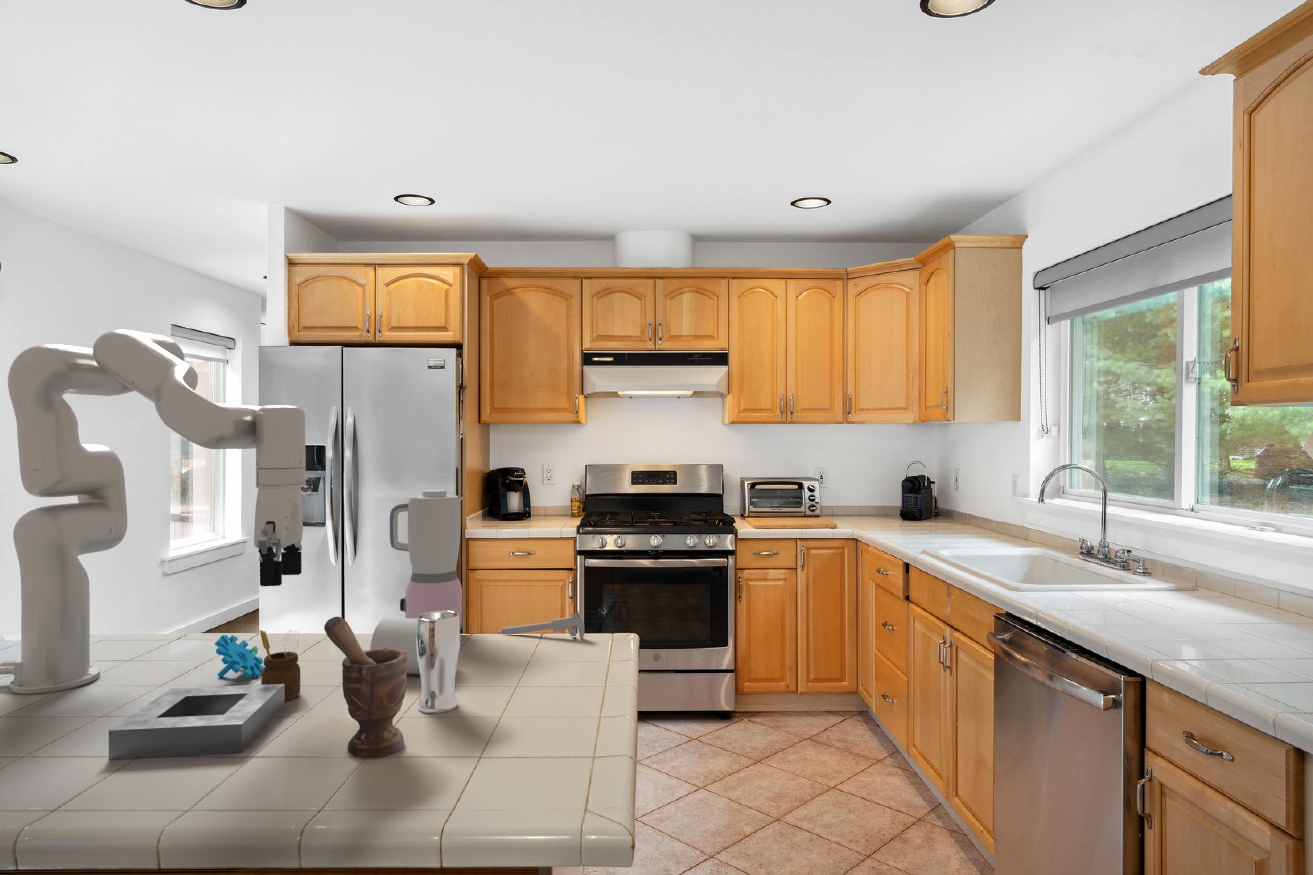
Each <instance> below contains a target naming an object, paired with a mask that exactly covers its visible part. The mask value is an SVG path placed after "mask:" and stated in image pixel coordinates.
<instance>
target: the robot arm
mask: <svg viewBox="0 0 1313 875" xmlns="http://www.w3.org/2000/svg"><path fill="white" fill-rule="evenodd" d="M185 360H186V358H185V355H184V352H183V350H182V348H181V347H180V345H179V344H178V343H177V342H176V341H174V340H173V339H171V338H170V337H167V336H165V335H159V334H154V333H148V332H143V331H142V332H141V331H137V330H130V329H115V330H111V331H108V332H105V333H103V334H101V335H100V336H99V337H98V338H96V340H95V342H94V343H93V346H92V348H88V347H82V346H75V345H67V344H50V343H49V344H39V345H33V346H30V347H29V348H27V349H24V350H23V351H22V352H20V353H19V354H18V355H17V356H16V357H15V359H14V360H13V361H12V363H11V366H10V368H9V371H8V376H7V389H8V390H7V391H8V394H9V399H10V402H11V405H12V408H13V411H14V416H15V421H16V429H17V430H16V434H17V435H16V436H17V448H18V458H19V460H18V461H19V471H20V472H19V473H20V479H21V484H22V486H23V488H24V490H25V491H26V492H27V494H30V495H31V496H33V497H37V498H63V497H64V498H65V497H74V496H77V502H78V503H77V502H75V503H71V502H70V503H63V504H53V505H52V504H51V505H45V506H40V507H37V508H35V509H31V510H29V511H26V513H24V514H23V515H21V516H20V518H18V519H17V521H16V523H15V525H14V528H13V533H12V534H13V535H12V537H13V538H12V539H13V543H14V548H15V552H16V556H17V560H18V566H19V576H20V599H21V602H20V604H21V605H20V606H21V607H20V608H21V611H20V612H21V616H20V618H21V621H20V623H21V624H20V625H21V626H20V630H21V631H20V632H21V633H20V635H21V636H20V641H21V642H20V654H21V655H20V657H21V658H20V659H19V660H3V661H1V663H0V675H13V679H12V680H11V681H10V682H9V686H8V688H9V691H10V692H11V693H14V694H23V695H25V694H26V695H27V694H28V695H33V694H44V693H45V694H47V693H51V692H57V691H58V692H59V691H64V690H69V689H72V688H76V687H80V686H83V685H87V684H88V683H92V682H93V681H96V680H97V679H98V678H99V677H100V676H101V669H100V668H99V667H97V666H94V665H90V659H91V658H90V657H91V656H90V654H91V652H90V651H91V650H90V649H91V648H90V646H91V645H90V643H91V642H90V637H91V636H90V635H91V634H90V630H91V629H90V622H91V621H90V620H91V618H90V617H91V616H90V612H91V611H90V605H91V604H90V602H91V600H90V598H91V597H90V579H89V574H88V572H87V570H86V569H85V567H84V565H83V564H82V563H81V561H80V559H79V556H81V555H87V554H93V553H98V552H99V553H100V552H104V551H108V550H111V549H113V548H115V547H117V546H118V545H119V544H120V543H121V542H122V541H123V540H124V538H125V536H126V534H127V530H128V507H127V505H128V504H127V495H126V494H127V493H126V492H127V490H126V478H125V469H124V466H123V463H122V461H121V460H120V457H119V455H118V454H117V453H116V452H115V451H114V450H112V448H110V447H108V446H106V445H103V444H102V445H101V444H97V443H81V441H80V434H79V422H78V419H77V416H76V414H75V411H74V409H73V408H72V407H71V405H70V404H69V403H68V402H67V400H66V399H65V398H64V397H63V396H64V395H66V394H71V395H73V394H74V395H84V396H85V395H86V396H101V397H102V396H103V397H113V396H120V395H124V394H129V393H132V392H136V393H138V394H140V395H141V396H143V397H144V398H146V399H147V400H149V401H150V402H152V403H153V404H154V408H155V410H156V413H157V414H158V416H159V418H160V420H161V422H163V424H164V425H165V426H166V427H168V428H169V429H170V430H171V431H174V432H175V433H176V434H178V435H180V436H181V437H183V438H184V439H186V440H187V441H189V442H190V443H193V444H195V445H197V446H199V447H202V448H206V449H209V450H247V449H250V450H251V449H252V450H253V449H255V488H256V489H258V490H257V494H256V502H255V511H254V512H255V513H254V514H255V515H254V531H253V534H254V535H253V545H254V547H255V548H257V549H258V553H259V556H258V561H259V585H260V587H279V586H281V585H282V584H283V576H299V575H301V574H302V549H303V547H302V542H301V541H302V540H303V533H304V512H303V511H304V510H303V496H302V488H306V485H307V484H306V480H307V478H306V477H307V476H306V469H307V468H306V465H307V464H306V463H307V461H306V414H305V411H304V409H303V408H301V407H299V406H295V405H264V406H263V405H262V406H259V405H258V406H257V405H247V404H236V403H235V404H234V403H232V404H231V403H217V402H214V401H211V400H210V399H208V398H207V397H205V396H203V395H202V394H199V393H198V392H197V391H196V389H197V387H198V382H199V377H198V372H197V371H196V369H195V368H194V367H193V366H192V365H190V364H188V363H187V362H185ZM282 550H283V551H282Z"/></svg>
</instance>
